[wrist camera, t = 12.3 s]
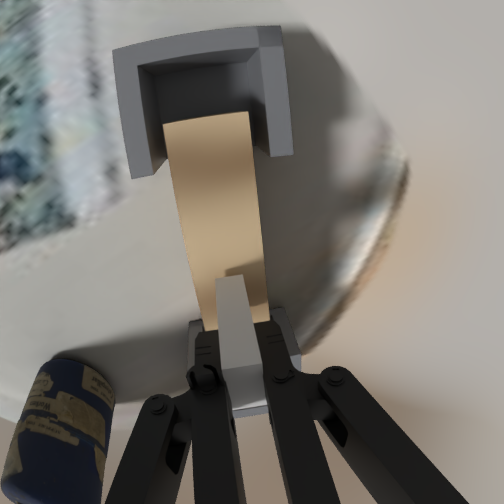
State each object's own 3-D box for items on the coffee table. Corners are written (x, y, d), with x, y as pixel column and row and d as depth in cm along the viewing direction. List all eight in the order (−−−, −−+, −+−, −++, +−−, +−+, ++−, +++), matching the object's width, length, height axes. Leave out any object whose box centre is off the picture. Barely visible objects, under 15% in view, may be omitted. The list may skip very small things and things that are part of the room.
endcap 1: (137, 64, 17) (112, 50, 12) (261, 46, 18) (280, 25, 12) (151, 160, 20) (131, 179, 15) (271, 142, 21) (293, 154, 15)
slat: (175, 120, 18) (162, 124, 13) (236, 111, 19) (248, 111, 13) (221, 352, 27) (226, 404, 22) (264, 346, 28) (276, 396, 22)
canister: (69, 338, 26) (14, 502, 10) (135, 392, 30) (120, 544, 14) (29, 369, 27) (-17, 497, 11) (88, 414, 31) (66, 538, 15)
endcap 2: (286, 360, 30) (300, 406, 25) (204, 373, 30) (206, 421, 24) (283, 306, 27) (301, 354, 22) (188, 321, 26) (187, 372, 21)
